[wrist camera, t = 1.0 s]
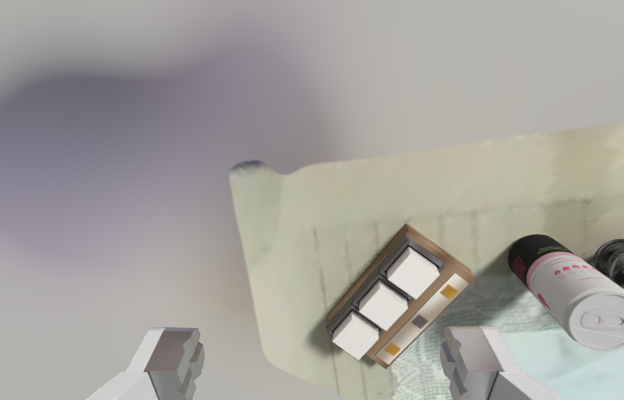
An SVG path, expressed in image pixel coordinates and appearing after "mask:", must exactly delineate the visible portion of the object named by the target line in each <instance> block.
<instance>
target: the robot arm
mask: <svg viewBox="0 0 624 400" xmlns="http://www.w3.org/2000/svg"><path fill="white" fill-rule="evenodd" d="M444 337H445V340H446V341H445V342H443V343H442V344H441V349H440V359H441V364H442V368H443V371H444V374H445V375H446V376H447V377H448V378H449V379H450V380H451V383H450V387H449V389H450V392H451V394H452V397H453V400H564V399H562V398H561V397H560V396H558V395H557V394H556V393H554V392H553V391H552V390H550V389H549V388H548V387H546V386H545V385H544V384H542V383H541V382H540V381H538V380H537V379H536V378H535V377H533V376H532V375H531V374H529V373H528V372H522V371H521V369H520V367H519V365H518V364H517V362H516V360H515V358H514V357H513V355H512V353H511V351H510V350H509V348H508V346H507V345H506V343H505V341H504V339H503V338H502V336H501V334H500V332H499V331H498V329H497V328H496V327H495V326H478V327H477V326H455V327H446V328H445V331H444ZM199 338H200V333H199V330H198V328H169V327H167V328H164V327H155V328H154V327H152V328H151V329H150V330H149V331H148V332H147V333H146V335H145V337H144V339H143V341H142V343H141V344H140V346H139V348H138V350H137V352H136V354H135V356H134V357H133V359H132V361H131V363H130V365H129V367H128V368H127V371H126V372H121V373H119V374H118V375H117V376H115V377H114V378H113V379H112V380H110V381H109V382H108V383H106V384H105V385H104V386H102V387H101V388H100V389H99V390H97V391H96V392H95V393H93V394H92V395H91V396H90V397H88V398H87V399H86V400H192V398H193V395H194V392H195V389H196V386H195V382H194V380H195V379H196V378H197V377H198V376H199V375H200V374H201V371H202V367H203V363H204V348H203V344H201V343H200V342H199V341H198V340H199Z"/></svg>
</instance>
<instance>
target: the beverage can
mask: <svg viewBox="0 0 624 400" xmlns="http://www.w3.org/2000/svg"><path fill="white" fill-rule="evenodd" d="M508 261H509V265H510V268H511V269H512V271H513V272H514V273H515V274H516V275H517V277H518V278H519V279H520V280H521V281H522V282H523V283H524V285H525V286H526V287H527V288H528V289H529V290H530V291H531V293H532V294H533V295H534V296H535V297H536V298H537V299H538V301H539V302H540V303H541V304H542V305H543V306H544V307H545V309H546V310H547V311H548V312H549V313H550V314H551V315H552V317H553V318H554V319H555V320H556V321H557V322H558V323H559V325H560V326H561V327H562V328H563V329H564V330H565V331H566V333H567V334H568V335H569V336H570V337H571V338H572V339H573V340H575V341H576V342H578V343H580V344H581V345H583V346H584V347H587V348H589V349H593V350H598V351H610V350H615V349H619V348H622V347H624V289H623V288H621V287H620V286H618V285H617V284H616V283H614V282H613V281H611V280H610V279H609V278H607V277H606V276H604V275H603V274H602V273H600V272H599V271H597V270H596V269H595V268H593V267H592V266H591V265H589V264H588V263H586V262H585V261H584V260H582V259H581V258H579V257H578V256H577V255H575V254H574V253H572V252H571V251H570V250H568V249H567V248H565V247H564V246H563V245H561V244H560V243H558V242H557V241H556V240H554V239H553V238H551V237H549V236H546V235H540V234H535V235H529V236H526V237H524V238H522V239H520V240H518V241H517V242H516V243H515V244H514V245H513V247H512V248H511V250H510V252H509V256H508Z"/></svg>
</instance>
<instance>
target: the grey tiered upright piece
mask: <svg viewBox="0 0 624 400" xmlns="http://www.w3.org/2000/svg"><path fill="white" fill-rule="evenodd" d="M594 262H595V266H596V268H597V269H598V270H599V271H600V272H601V273H602V274H604V275H607V276H610V279H611V281H613V282H614V283H616V284H617V285H618V286H620V287H621V288H623V289H624V239H616V240H612V241H609V242H607V243H605V244H604V245H602V246H601V247H600V248H599V249H598V251H597V252H596V255H595V261H594Z"/></svg>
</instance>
